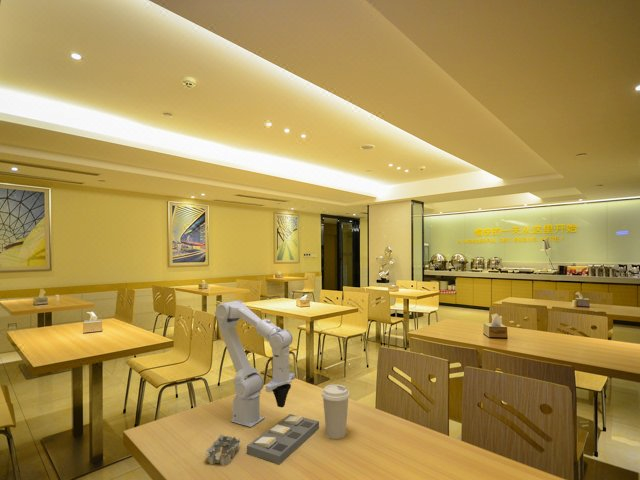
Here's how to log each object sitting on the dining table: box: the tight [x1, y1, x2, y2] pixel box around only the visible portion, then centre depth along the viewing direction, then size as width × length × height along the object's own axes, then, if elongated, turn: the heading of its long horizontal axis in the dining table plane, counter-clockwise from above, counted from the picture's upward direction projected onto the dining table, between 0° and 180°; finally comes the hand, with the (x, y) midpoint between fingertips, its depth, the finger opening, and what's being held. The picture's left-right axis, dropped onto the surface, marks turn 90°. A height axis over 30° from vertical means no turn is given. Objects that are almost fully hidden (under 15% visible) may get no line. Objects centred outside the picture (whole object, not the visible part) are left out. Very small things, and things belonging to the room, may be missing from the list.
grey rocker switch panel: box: [246, 413, 320, 465], centre depth 115 cm, size 12×24×2 cm, turn 152°
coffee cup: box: [321, 384, 351, 440], centre depth 118 cm, size 10×10×15 cm
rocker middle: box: [269, 423, 290, 437], centre depth 116 cm, size 5×4×1 cm
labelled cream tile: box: [284, 415, 303, 425], centre depth 123 cm, size 5×4×1 cm
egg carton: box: [205, 434, 241, 467], centre depth 106 cm, size 11×8×4 cm
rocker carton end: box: [255, 437, 276, 448], centre depth 109 cm, size 5×4×1 cm
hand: (280, 406), depth 121 cm, fingers closed
